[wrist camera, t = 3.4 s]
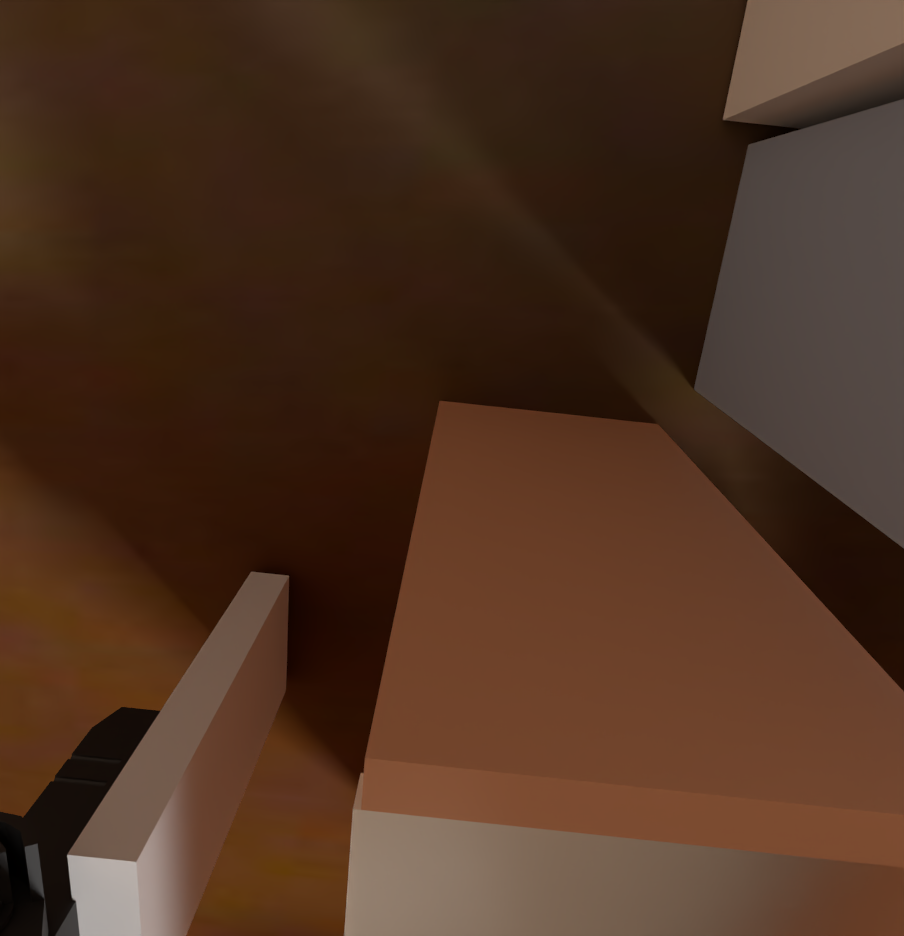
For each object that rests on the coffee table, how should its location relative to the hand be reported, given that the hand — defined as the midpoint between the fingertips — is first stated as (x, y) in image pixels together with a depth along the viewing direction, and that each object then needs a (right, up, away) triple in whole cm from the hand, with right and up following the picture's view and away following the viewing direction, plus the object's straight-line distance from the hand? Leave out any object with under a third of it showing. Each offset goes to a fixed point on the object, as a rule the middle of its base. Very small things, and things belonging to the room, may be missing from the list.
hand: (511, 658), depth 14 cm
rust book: (0, 0, 0) cm, 0 cm away
